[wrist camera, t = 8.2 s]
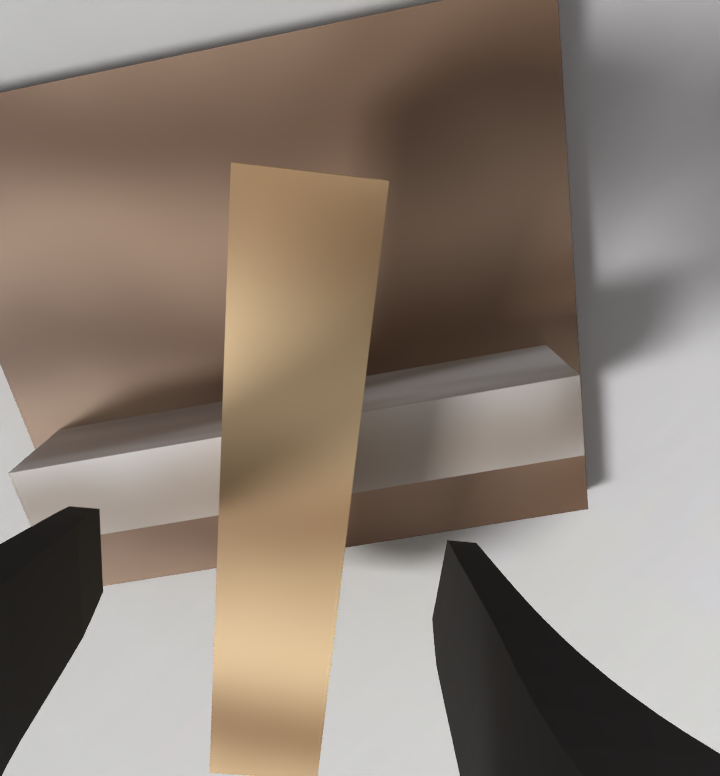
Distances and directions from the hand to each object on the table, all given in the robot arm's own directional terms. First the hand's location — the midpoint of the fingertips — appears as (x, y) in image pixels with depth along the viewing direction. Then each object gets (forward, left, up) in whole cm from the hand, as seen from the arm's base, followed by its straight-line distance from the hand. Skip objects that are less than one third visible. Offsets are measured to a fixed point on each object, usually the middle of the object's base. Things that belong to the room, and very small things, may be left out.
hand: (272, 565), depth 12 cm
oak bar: (0, 0, -5) cm, 5 cm away
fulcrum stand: (-3, 0, -9) cm, 9 cm away
